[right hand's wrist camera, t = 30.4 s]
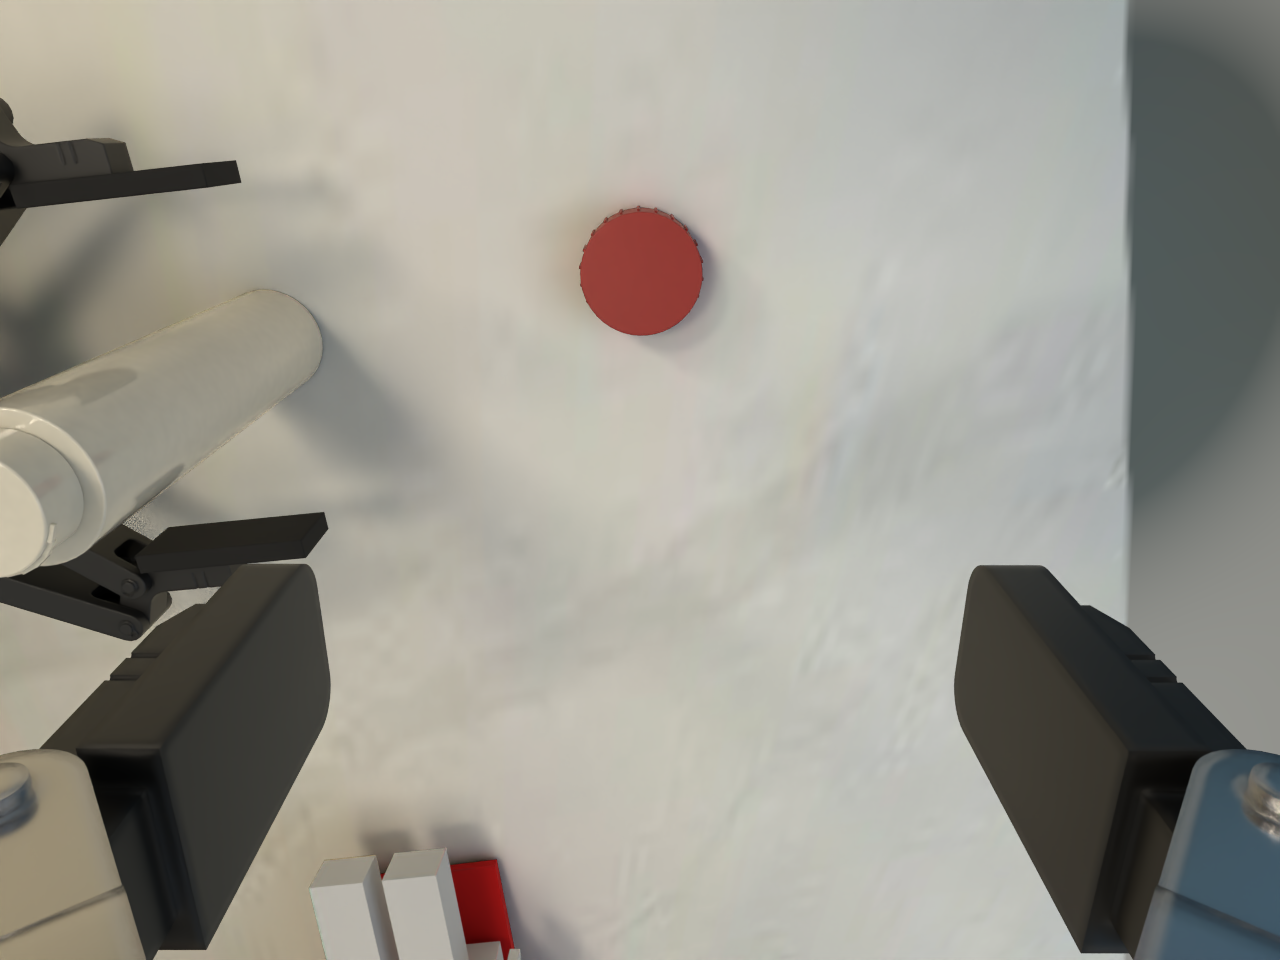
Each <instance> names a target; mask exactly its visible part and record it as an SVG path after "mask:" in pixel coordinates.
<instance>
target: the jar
mask: <svg viewBox="0 0 1280 960" xmlns="http://www.w3.org/2000/svg"><path fill="white" fill-rule="evenodd" d="M322 351H323V346H322V337H321V333H320V330H319V328H318V325H317V323H316V321H315V320H314V318H313V317H312V315H311V314H310V312H309V311H308V310H307V309H306V308H305V307H304V306H303V305H302V304H300V303H299V302H298V301H297V300H295V299H294V298H292V297H290V296H288V295H286V294H283V293H281V292H277V291H273V290H255V291H250V292H247V293H244V294H242V295H240V296H237V297H235V298H233V299H230V300H228V301H226V302H223V303H221V304H219V305H216V306H214V307H212V308H209V309H207V310H205V311H202V312H200V313H198V314H195V315H193V316H191V317H188V318H186V319H184V320H181V321H179V322H177V323H174V324H172V325H170V326H167V327H165V328H163V329H160V330H158V331H156V332H153V333H151V334H149V335H146V336H144V337H142V338H139V339H137V340H135V341H132V342H130V343H128V344H125V345H123V346H121V347H118V348H116V349H114V350H111V351H109V352H107V353H104V354H102V355H100V356H97V357H95V358H93V359H90V360H88V361H86V362H83V363H81V364H79V365H76V366H74V367H72V368H69V369H67V370H65V371H62V372H60V373H58V374H55V375H53V376H51V377H48V378H46V379H44V380H41V381H39V382H37V383H34V384H32V385H30V386H27V387H25V388H23V389H20V390H18V391H16V392H13V393H11V394H9V395H6V396H4V397H2V398H0V578H1V577H11V576H15V575H19V574H23V575H24V574H26V573H28V572H29V571H31V570H33V569H35V568H37V567H39V566H50V565H57V564H61V563H65V562H68V561H70V560H73V559H75V558H77V557H78V556H80V555H82V554H83V553H85V552H86V551H87V550H89V549H90V548H91V547H93V546H94V545H95V544H96V543H98V542H99V541H100V540H102V539H103V538H104V537H105V536H107V535H108V534H109V533H111V532H112V531H113V530H115V529H116V528H117V527H118V526H120V525H121V524H122V523H124V522H125V521H126V520H128V519H129V518H130V517H131V516H133V515H134V514H135V513H137V512H138V511H139V510H141V509H142V508H143V507H144V506H146V505H147V504H148V503H150V502H151V501H152V500H153V499H155V498H156V497H157V496H159V495H160V494H161V493H163V492H164V491H165V490H166V489H168V488H169V487H170V486H172V485H173V484H174V483H176V482H177V481H178V480H179V479H181V478H182V477H183V476H185V475H186V474H187V473H188V472H190V471H191V470H192V469H194V468H195V467H196V466H198V465H199V464H200V463H201V462H203V461H204V460H205V459H207V458H208V457H209V456H211V455H212V454H213V453H214V452H216V451H217V450H218V449H220V448H221V447H222V446H224V445H225V444H226V443H227V442H229V441H230V440H231V439H233V438H234V437H235V436H236V435H238V434H239V433H240V432H242V431H243V430H244V429H246V428H247V427H248V426H249V425H251V424H252V423H253V422H255V421H256V420H257V419H259V418H260V417H261V416H262V415H264V414H265V413H266V412H268V411H269V410H270V409H272V408H273V407H274V406H275V405H277V404H278V403H279V402H281V401H282V400H283V399H284V398H286V397H287V396H288V395H290V394H291V393H292V392H294V391H295V390H296V389H297V388H299V387H300V386H301V385H303V384H304V383H305V382H306V381H308V380H309V379H310V378H311V377H312V376H313V374H314V373H315V372H316V370H317V368H318V366H319V364H320V361H321V357H322Z"/></svg>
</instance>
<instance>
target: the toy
mask: <svg viewBox="0 0 1280 960" xmlns="http://www.w3.org/2000/svg"><path fill="white" fill-rule="evenodd" d="M309 891H310V895H311V899H312V904H313V908H314V912H315V916H316V920H317V924H318V928H319V932H320V936H321V940H322V944H323V948H324V952H325V956H326V960H521V953H520V949H515V948H514V943H513V938H512V933H511V928H510V923H509V918H508V913H507V908H506V903H505V898H504V893H503V888H502V883H501V878H500V873H499V868H498V863H497V859H496V860H488V861H479V862H471V863H463V864H455V865H450V864H449V859H448V854H447V849H446V848H439V849H430V850H420V851H410V852H400V853H394V855H393V857H392V860H391V862H390V864H389V866H388V868H387V871H386V873H381V874H380V871H379V866H378V862H377V858H376V855H370V856H360V857H350V858H340V859H331V860H324V862H323V864H322V866H321V867H320V869H319V871H318V873H317V874H316V876H315V878H314V880H313V882H312V883H311V885H310V887H309Z"/></svg>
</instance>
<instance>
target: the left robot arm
mask: <svg viewBox="0 0 1280 960" xmlns="http://www.w3.org/2000/svg"><path fill="white" fill-rule="evenodd" d="M235 183H241V179H240V175H239V171H238V167H237V163H236V160H235V161H224V162H213V163H202V164H193V165H184V166H175V167H166V168H157V169H149V170H140V171H133V167H132V164H131V160H130V157H129V154H128V150H127V147H126V143H125V142H121V141H118V140H114V139H111V138H97V139H80V140H71V141H63V142H54V143H45V144H37V145H34V144H32V143H30V142H28V141H26V140H25V139H24V138H23V137H22V136H21V135H20V134H19V133H18V132H17V130H16V129H15V127H14V126H13V114H12V110H11V109H10V107H9V105H8V104H7V103H6V102H5V101H4V100H3V99H1V98H0V246H1V245H2V243H3V242H4V240H5V239H6V237H7V236H8V234H9V233H10V231H11V230H12V228H13V227H14V226H15V224H16V223H17V221H18V220H19V218H20V217H21V215H22V214H23V212H24V211H25V209H26V208H29V207H38V206H47V205H56V204H65V203H74V202H83V201H92V200H101V199H110V198H119V197H127V196H136V195H145V194H154V193H163V192H172V191H181V190H190V189H199V188H208V187H215V186H221V185H228V184H235ZM327 530H328V525H327V521H326V517H325V513H324V512H320V513H309V514H299V515H289V516H279V517H268V518H258V519H248V520H237V521H227V522H217V523H207V524H196V525H186V526H176V527H168V528H167V529H166V530H165V531H164V532H162V533H161V534H160V535H159V536H158V537H157V538H155V539H154V540H153V541H152V540H150V539H149V538H147V537H145V536H143V535H141V534H139V533H138V532H136V531H134V530H132V529H130V528H128V527H127V526H125V525H123V524H121V525H120V526H118V527H117V528H116V529H115V530H113V531H112V532H111V533H109V534H108V535H107V536H105V537H104V538H103V539H102V540H100V541H99V542H98V543H96V544H95V545H94V546H93V547H91V548H90V549H89V550H87V551H86V552H85V553H83V554H82V555H80V556H78V557H77V558H75V559H73V560H70V561H68V562H65V563H61V564H57V565H50V566H39V567H37V568H35V569H33V570H31V571H29V572H28V573H26V574H24V575H23V574H19V575H15V576H11V577H1V578H0V602H1V603H4V604H7V605H11V606H14V607H17V608H21V609H24V610H27V611H31V612H34V613H37V614H40V615H44V616H47V617H50V618H54V619H57V620H60V621H64V622H67V623H70V624H73V625H77V626H80V627H83V628H87V629H90V630H93V631H97V632H100V633H103V634H107V635H110V636H113V637H116V638H120V639H123V640H128V641H133V640H137V639H138V638H140V637H141V636H142V635H143V634H144V633H145V632H146V631H147V630H148V629H149V628H150V627H151V626H152V625H153V624H154V623H155V622H156V621H157V620H158V619H159V618H160V617H161V616H162V615H163V614H164V613H165V611H166V610H167V609H168V608H169V607H170V606H171V604H172V598H171V596H170V594H169V593H168V592H167V591H177V590H187V589H197V588H207V587H219V586H222V585H223V584H224V583H225V582H226V581H227V580H228V578H229V577H230V576H231V575H232V574H233V573H234V572H235V571H236V570H237V568H239V567H240V566H241V565H243V564H247V563H258V562H268V561H279V560H289V559H299V558H306V557H307V556H308V554H309V553H310V552H311V551H312V549H313V548H314V547H315V545H316V544H317V543H318V541H319V540H320V539H321V538H322V536H323V535H324V534H325V532H326V531H327Z"/></svg>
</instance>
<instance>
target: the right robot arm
mask: <svg viewBox="0 0 1280 960" xmlns="http://www.w3.org/2000/svg"><path fill="white" fill-rule="evenodd" d="M330 686H331V684H330V671H329V664H328V657H327V650H326V643H325V637H324V630H323V623H322V616H321V609H320V602H319V595H318V588H317V583H316V579H315V575H314V573H313V571H312V569H311V567H310V566H309V565H307V564H243V565H241V566H240V567H239V568H237V570H236V571H235V572H234V573H233V574H232V575H231V576H230V577H229V578H228V580H227V581H226V582H225V583H224V584H223V585H222V586H221V587H220V588H219V589H218V591H217V592H216V593H215V594H214V595H213V596H212V597H211V598H210V599H209V601H208V602H207V603H206V604H195V605H193V606H191V607H189V608H188V609H186V610H184V611H182V612H181V613H179V614H177V615H176V616H174V617H172V618H170V619H169V620H167V621H165V622H163V623H162V624H160V625H158V626H157V627H156V628H155V629H154V630H153V631H152V632H151V633H150V634H149V635H148V636H147V637H146V638H145V639H144V640H143V641H142V642H141V643H140V644H139V645H138V646H137V647H136V648H135V649H134V651H133V652H132V653H131V658H126V659H125V660H124V661H123V662H122V663H121V664H120V665H119V666H118V667H117V668H116V669H115V670H114V671H113V672H112V673H111V675H110V680H109V681H104V682H103V683H102V684H101V685H100V686H99V687H98V688H97V689H96V690H95V691H94V692H93V693H92V694H91V695H90V696H89V697H88V699H87V700H86V701H85V702H84V703H83V704H82V705H81V706H80V707H79V708H78V709H77V710H76V711H75V712H74V713H73V714H72V715H71V716H70V717H69V718H68V719H67V720H66V721H65V723H64V724H63V725H62V726H61V727H60V728H59V729H58V730H57V731H56V732H55V733H54V734H53V735H52V736H51V737H50V738H49V739H48V740H47V741H46V742H45V743H44V744H43V745H42V747H41V748H40V749H32V750H24V751H17V752H13V753H8V754H3V755H0V960H153V958H154V957H155V955H156V953H157V951H158V950H206V949H207V947H208V945H209V944H210V942H211V940H212V938H213V936H214V934H215V932H216V930H217V928H218V926H219V924H220V923H221V921H222V919H223V917H224V915H225V913H226V911H227V909H228V907H229V905H230V903H231V902H232V900H233V898H234V896H235V894H236V892H237V890H238V888H239V886H240V884H241V882H242V881H243V879H244V877H245V875H246V873H247V871H248V869H249V867H250V865H251V863H252V861H253V860H254V858H255V856H256V854H257V852H258V850H259V848H260V846H261V844H262V842H263V840H264V839H265V837H266V835H267V833H268V831H269V829H270V827H271V825H272V823H273V821H274V820H275V818H276V816H277V814H278V812H279V810H280V808H281V806H282V804H283V802H284V800H285V799H286V797H287V795H288V793H289V791H290V789H291V787H292V785H293V783H294V781H295V779H296V778H297V776H298V774H299V772H300V770H301V768H302V766H303V764H304V762H305V760H306V758H307V757H308V755H309V753H310V751H311V749H312V747H313V745H314V743H315V741H316V739H317V737H318V736H319V734H320V732H321V730H322V728H323V725H324V723H325V720H326V717H327V713H328V708H329V701H330ZM954 695H955V705H956V711H957V715H958V719H959V722H960V725H961V728H962V730H963V732H964V734H965V736H966V738H967V739H968V741H969V743H970V745H971V747H972V749H973V751H974V753H975V754H976V756H977V758H978V760H979V762H980V764H981V766H982V768H983V770H984V771H985V773H986V775H987V777H988V779H989V781H990V783H991V785H992V787H993V788H994V790H995V792H996V794H997V796H998V798H999V800H1000V802H1001V804H1002V805H1003V807H1004V809H1005V811H1006V813H1007V815H1008V817H1009V819H1010V820H1011V822H1012V824H1013V826H1014V828H1015V830H1016V832H1017V834H1018V836H1019V837H1020V839H1021V841H1022V843H1023V845H1024V847H1025V849H1026V851H1027V853H1028V854H1029V856H1030V858H1031V860H1032V862H1033V864H1034V866H1035V868H1036V869H1037V871H1038V873H1039V875H1040V877H1041V879H1042V881H1043V883H1044V885H1045V886H1046V888H1047V890H1048V892H1049V894H1050V896H1051V898H1052V900H1053V902H1054V903H1055V905H1056V907H1057V909H1058V911H1059V913H1060V915H1061V917H1062V918H1063V920H1064V922H1065V924H1066V926H1067V928H1068V930H1069V932H1070V934H1071V935H1072V937H1073V939H1074V941H1075V943H1076V945H1077V947H1078V949H1079V951H1080V952H1081V953H1129V954H1130V955H1131V957H1132V959H1133V960H1280V755H1277V754H1272V753H1267V752H1263V751H1256V750H1247V749H1246V748H1245V747H1244V746H1243V745H1242V744H1241V743H1240V742H1239V741H1238V740H1237V739H1236V738H1235V737H1234V736H1233V735H1232V734H1231V733H1230V732H1229V731H1228V730H1227V729H1226V727H1225V726H1224V725H1223V724H1222V723H1221V722H1220V721H1219V720H1218V719H1217V718H1216V717H1215V716H1214V715H1213V714H1212V713H1211V712H1210V711H1209V710H1208V709H1207V708H1206V707H1205V706H1204V705H1203V704H1202V703H1201V702H1200V701H1199V700H1198V699H1197V697H1196V696H1195V695H1194V694H1193V693H1192V692H1191V691H1190V690H1189V689H1188V688H1187V687H1186V686H1185V685H1184V684H1183V683H1177V680H1176V676H1175V675H1174V674H1173V673H1172V672H1171V671H1170V670H1169V669H1168V667H1167V666H1166V665H1165V664H1164V663H1163V662H1162V661H1161V660H1156V659H1155V654H1154V653H1153V652H1152V651H1151V650H1150V649H1149V648H1148V647H1147V646H1146V645H1145V644H1144V643H1143V642H1142V641H1141V640H1140V639H1139V637H1138V636H1137V635H1136V634H1135V633H1134V632H1133V631H1132V630H1131V629H1130V628H1128V627H1127V626H1125V625H1123V624H1121V623H1120V622H1118V621H1116V620H1114V619H1113V618H1111V617H1109V616H1107V615H1106V614H1104V613H1102V612H1100V611H1099V610H1097V609H1095V608H1094V607H1092V606H1090V605H1080V604H1079V603H1078V602H1077V601H1076V600H1075V599H1074V598H1073V597H1072V596H1071V595H1070V593H1069V592H1068V591H1067V590H1066V589H1065V588H1064V587H1063V586H1062V585H1061V584H1060V582H1059V581H1058V580H1057V579H1056V578H1055V577H1054V576H1053V575H1052V574H1051V573H1050V571H1049V570H1048V569H1046V568H1045V567H1043V566H1040V565H979V566H977V567H976V568H975V569H974V570H973V572H972V574H971V577H970V580H969V584H968V590H967V596H966V603H965V610H964V617H963V623H962V630H961V637H960V644H959V650H958V657H957V664H956V671H955V679H954Z"/></svg>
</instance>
